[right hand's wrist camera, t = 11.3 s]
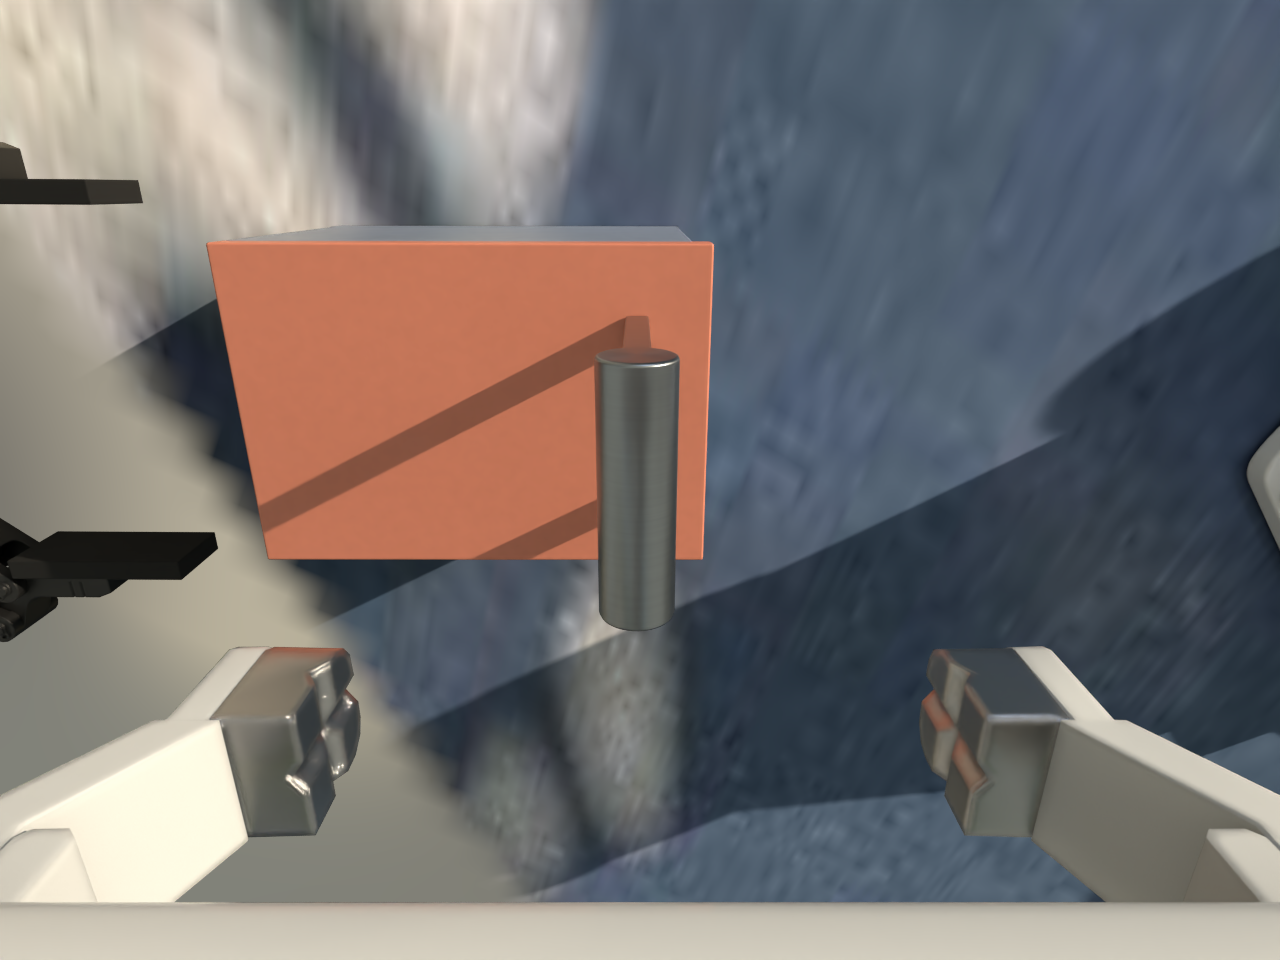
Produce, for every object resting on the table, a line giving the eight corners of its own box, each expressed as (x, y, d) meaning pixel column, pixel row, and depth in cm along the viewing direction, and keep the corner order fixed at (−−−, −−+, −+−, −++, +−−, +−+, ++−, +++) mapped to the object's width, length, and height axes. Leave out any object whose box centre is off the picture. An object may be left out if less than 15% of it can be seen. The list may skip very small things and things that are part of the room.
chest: (677, 226, 31) (693, 240, 23) (673, 457, 35) (685, 547, 26) (339, 225, 31) (222, 240, 23) (370, 457, 35) (280, 547, 26)
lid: (711, 241, 23) (749, 269, 15) (700, 548, 26) (727, 699, 18) (221, 240, 22) (1, 267, 15) (279, 547, 26) (128, 699, 18)
